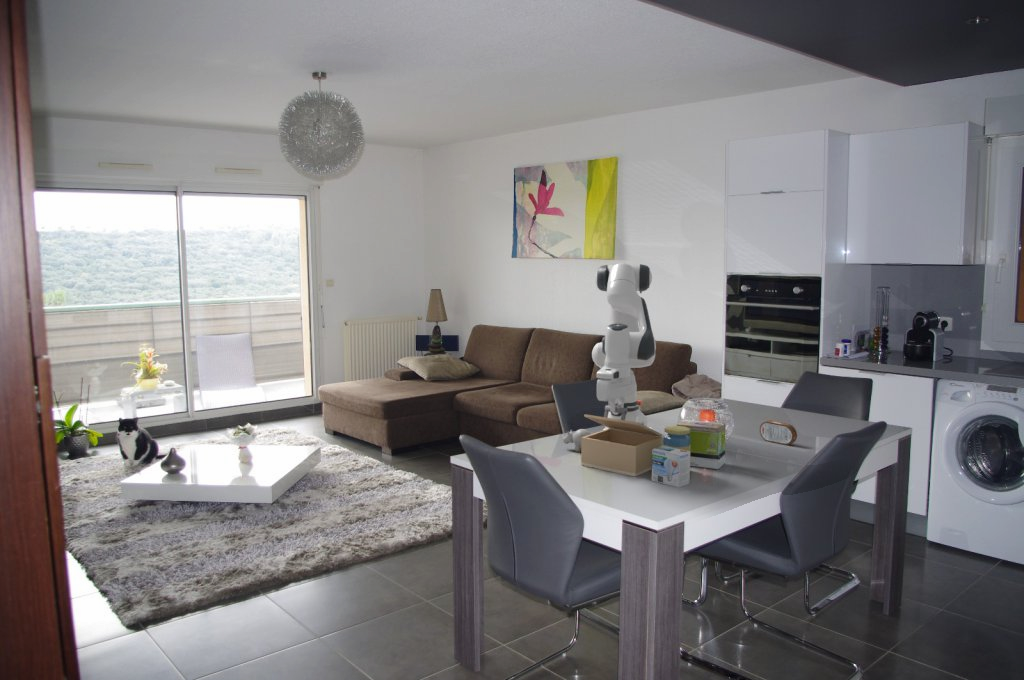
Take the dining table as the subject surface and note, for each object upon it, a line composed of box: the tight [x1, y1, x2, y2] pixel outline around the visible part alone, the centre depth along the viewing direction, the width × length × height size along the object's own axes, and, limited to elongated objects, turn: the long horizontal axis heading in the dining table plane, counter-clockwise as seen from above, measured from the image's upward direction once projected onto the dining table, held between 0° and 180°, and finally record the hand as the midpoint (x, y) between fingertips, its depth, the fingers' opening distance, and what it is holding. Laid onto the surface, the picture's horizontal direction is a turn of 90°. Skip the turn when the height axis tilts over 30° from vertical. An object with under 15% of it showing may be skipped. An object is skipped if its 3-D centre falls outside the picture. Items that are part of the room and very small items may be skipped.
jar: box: [663, 425, 691, 451], centre depth 251 cm, size 9×9×15 cm
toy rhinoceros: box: [562, 428, 592, 453], centre depth 281 cm, size 7×12×8 cm, turn 57°
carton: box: [580, 429, 663, 477], centre depth 260 cm, size 18×22×10 cm
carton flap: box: [583, 404, 663, 438], centre depth 260 cm, size 18×22×5 cm
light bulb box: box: [651, 445, 691, 488], centre depth 240 cm, size 11×7×11 cm, turn 45°
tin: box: [759, 419, 798, 446], centre depth 290 cm, size 15×3×8 cm, turn 40°
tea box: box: [676, 419, 726, 470], centre depth 260 cm, size 15×10×15 cm
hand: (616, 410), depth 256 cm, fingers open, 3 cm apart
